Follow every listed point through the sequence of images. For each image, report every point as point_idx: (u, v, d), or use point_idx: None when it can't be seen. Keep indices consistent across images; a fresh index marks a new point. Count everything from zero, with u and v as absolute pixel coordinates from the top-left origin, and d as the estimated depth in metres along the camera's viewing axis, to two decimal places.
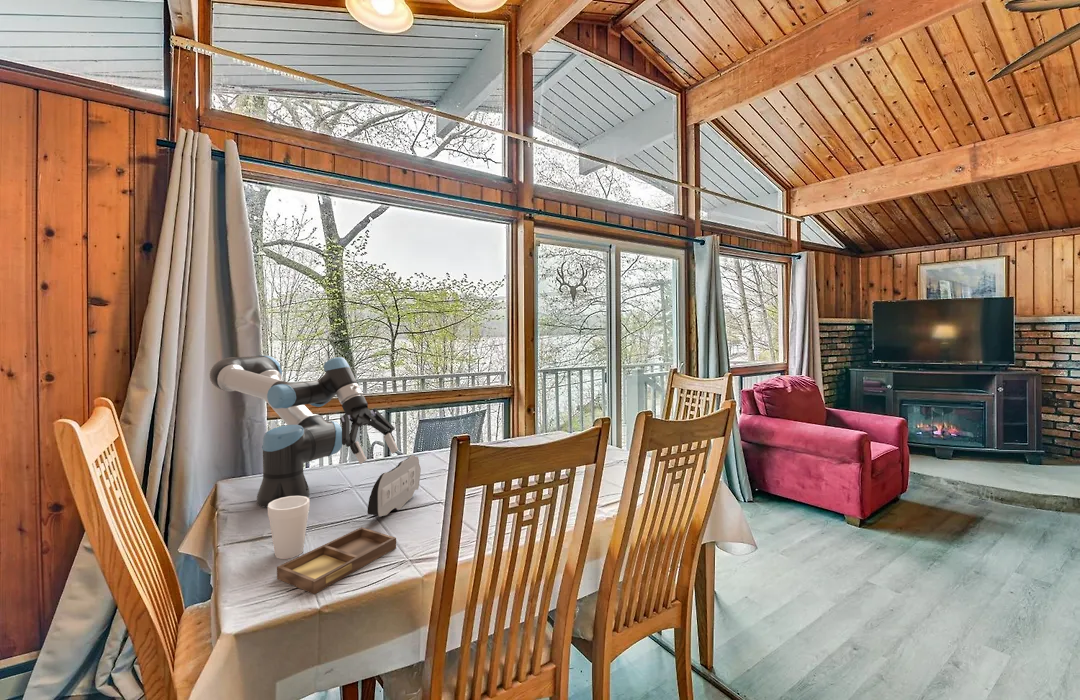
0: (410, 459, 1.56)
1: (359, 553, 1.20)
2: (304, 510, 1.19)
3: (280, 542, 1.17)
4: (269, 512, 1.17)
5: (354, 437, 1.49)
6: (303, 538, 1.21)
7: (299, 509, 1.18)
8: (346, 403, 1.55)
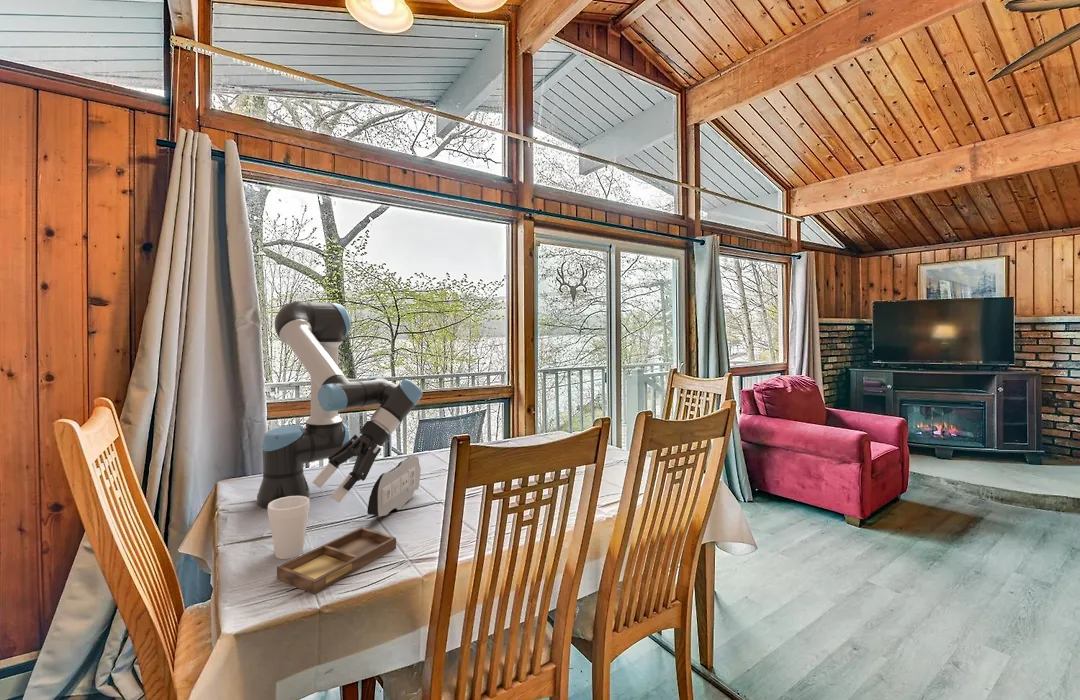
0: (410, 459, 1.56)
1: (359, 553, 1.20)
2: (304, 510, 1.19)
3: (280, 542, 1.17)
4: (269, 512, 1.17)
5: None
6: (303, 538, 1.21)
7: (299, 509, 1.18)
8: (384, 435, 1.32)
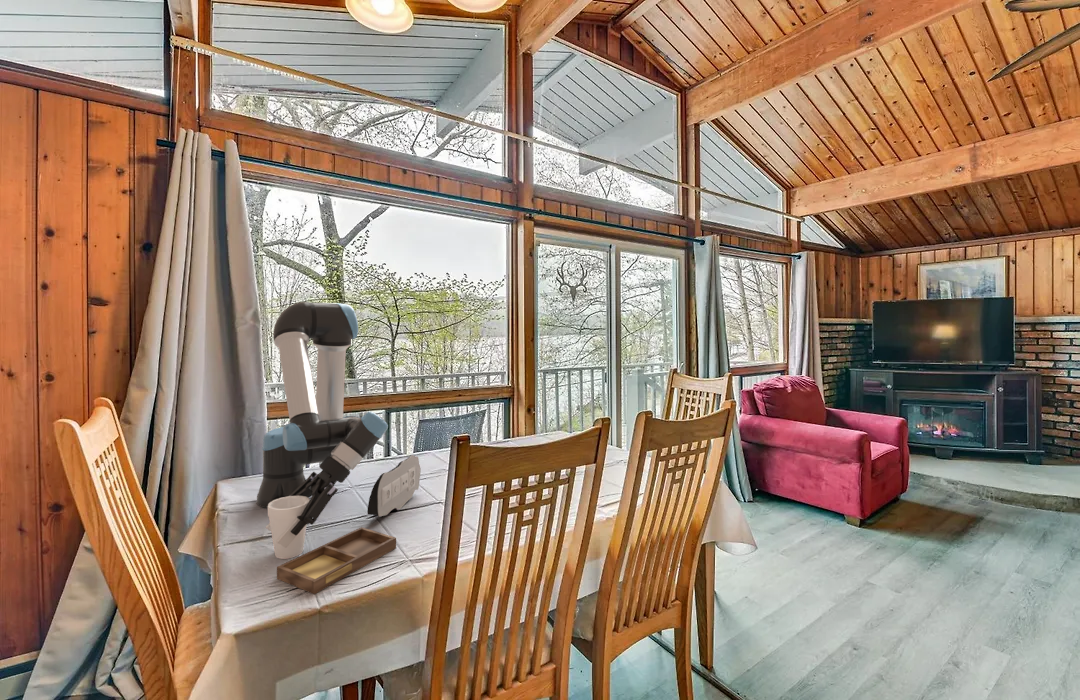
0: (410, 459, 1.56)
1: (359, 553, 1.20)
2: None
3: None
4: (269, 512, 1.17)
5: None
6: (303, 538, 1.21)
7: (299, 509, 1.18)
8: (344, 471, 1.26)
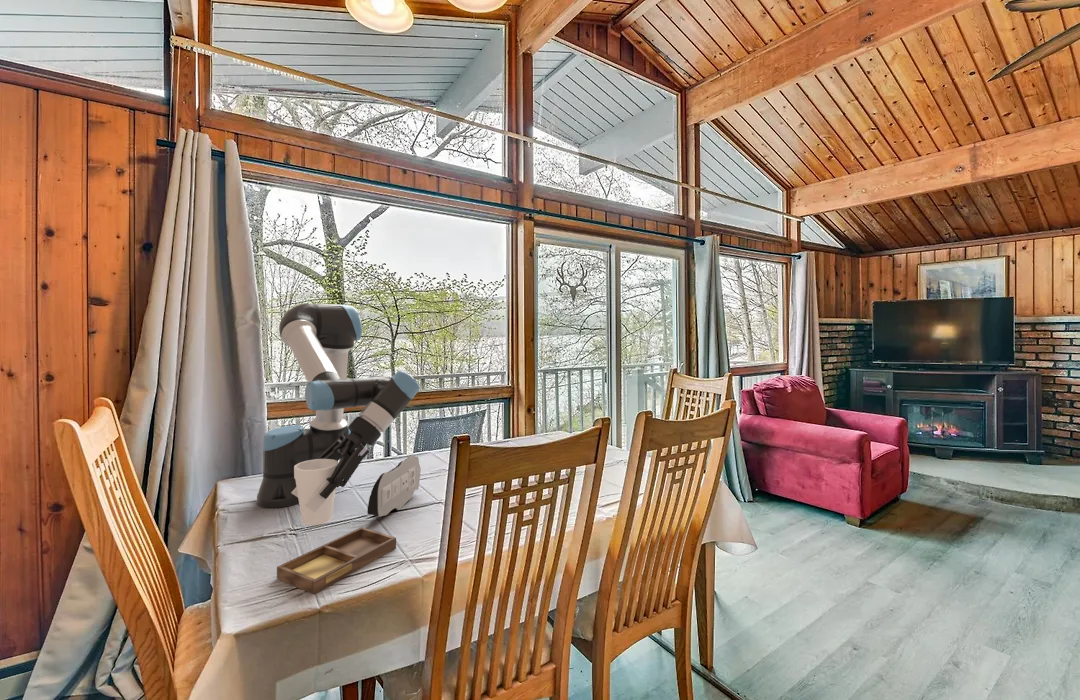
0: (410, 459, 1.56)
1: (359, 553, 1.20)
2: None
3: None
4: (296, 474, 1.07)
5: None
6: (332, 503, 1.11)
7: (328, 471, 1.08)
8: (375, 433, 1.16)
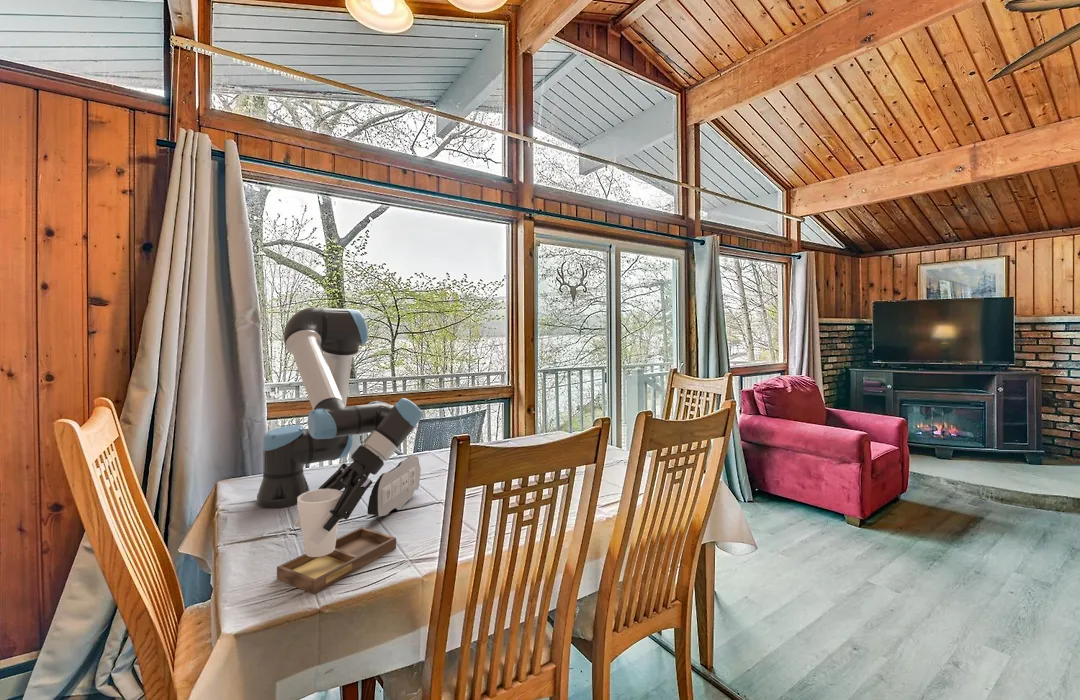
0: (410, 459, 1.56)
1: (359, 553, 1.20)
2: (336, 504, 1.09)
3: None
4: (299, 506, 1.07)
5: None
6: (336, 534, 1.11)
7: (332, 503, 1.08)
8: (378, 462, 1.16)
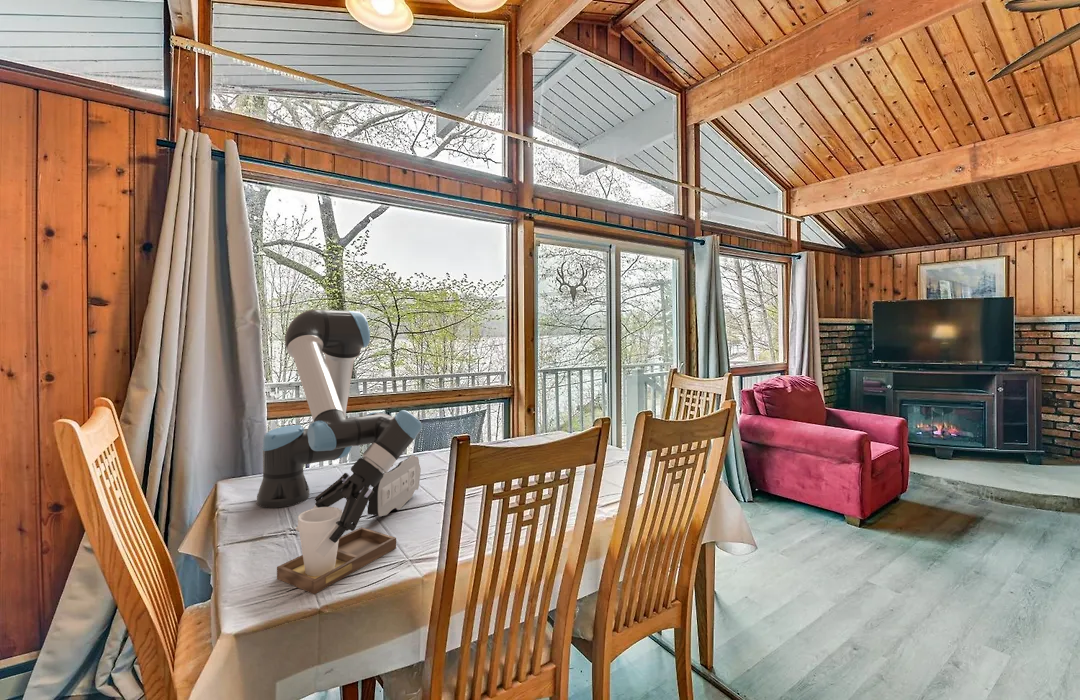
0: (410, 459, 1.56)
1: (359, 553, 1.20)
2: None
3: (311, 558, 1.08)
4: (300, 525, 1.07)
5: None
6: (336, 553, 1.12)
7: (332, 522, 1.08)
8: (378, 475, 1.16)
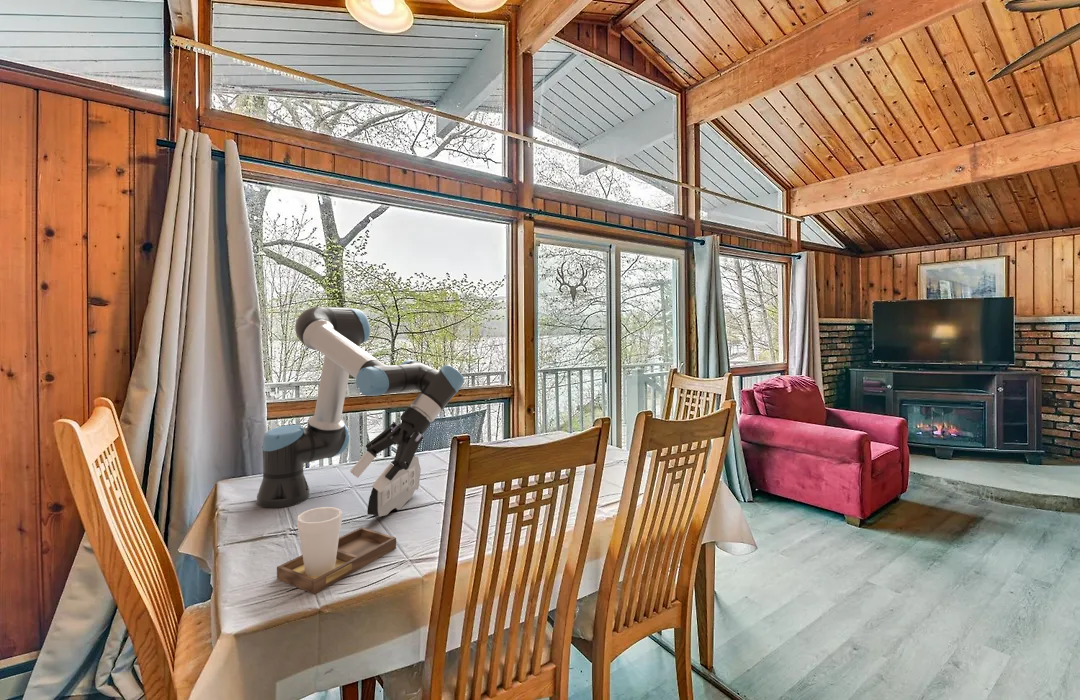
0: None
1: (359, 553, 1.20)
2: (336, 523, 1.09)
3: (311, 558, 1.08)
4: (299, 526, 1.07)
5: None
6: (335, 553, 1.12)
7: (332, 522, 1.08)
8: (426, 422, 1.25)
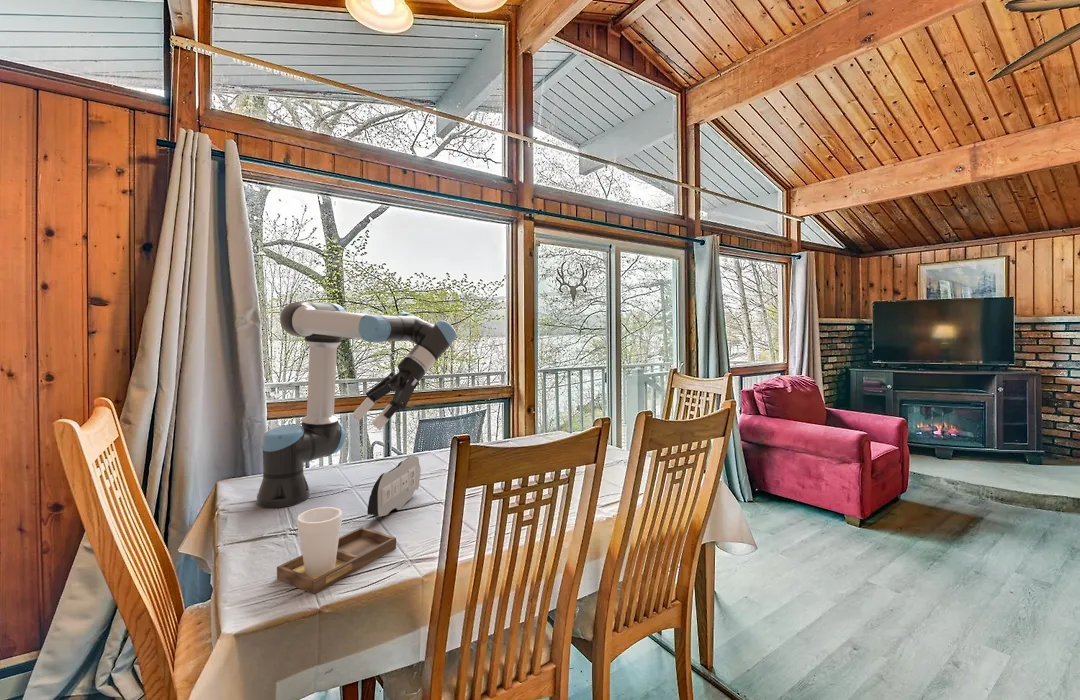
0: (410, 459, 1.56)
1: (359, 553, 1.20)
2: (336, 523, 1.09)
3: (311, 558, 1.08)
4: (299, 526, 1.07)
5: None
6: (335, 553, 1.12)
7: (332, 522, 1.08)
8: (421, 370, 1.36)
